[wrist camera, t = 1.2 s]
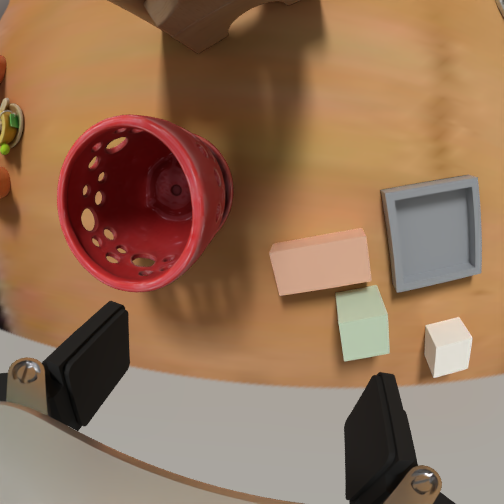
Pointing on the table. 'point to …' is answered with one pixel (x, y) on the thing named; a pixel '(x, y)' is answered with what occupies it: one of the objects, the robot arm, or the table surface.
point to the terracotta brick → (321, 262)
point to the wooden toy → (192, 17)
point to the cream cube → (447, 347)
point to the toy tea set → (8, 130)
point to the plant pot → (143, 200)
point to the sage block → (362, 323)
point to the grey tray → (433, 231)
